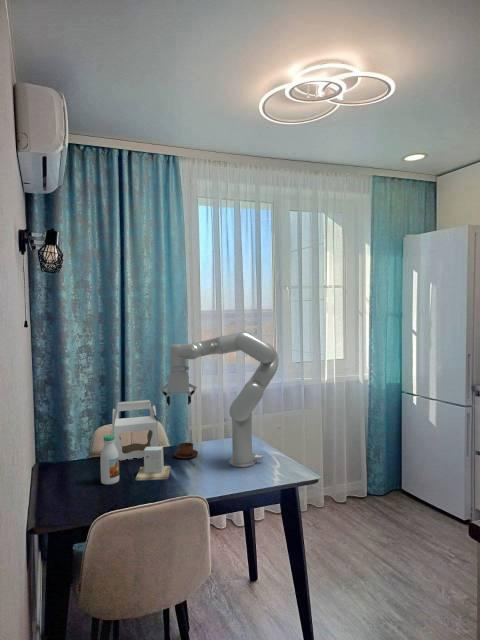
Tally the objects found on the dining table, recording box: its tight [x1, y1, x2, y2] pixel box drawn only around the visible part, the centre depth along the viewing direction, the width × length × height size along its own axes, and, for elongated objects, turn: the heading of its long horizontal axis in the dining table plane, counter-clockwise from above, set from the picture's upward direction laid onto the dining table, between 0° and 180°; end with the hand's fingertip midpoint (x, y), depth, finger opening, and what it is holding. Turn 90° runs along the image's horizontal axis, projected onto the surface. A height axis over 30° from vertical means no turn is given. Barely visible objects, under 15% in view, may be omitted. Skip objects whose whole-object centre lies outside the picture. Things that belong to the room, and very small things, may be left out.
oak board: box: [135, 465, 172, 481], centre depth 210 cm, size 14×14×1 cm
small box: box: [143, 445, 165, 473], centre depth 210 cm, size 8×6×10 cm
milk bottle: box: [100, 434, 120, 485], centre depth 202 cm, size 8×8×20 cm
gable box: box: [111, 399, 159, 461], centre depth 239 cm, size 22×13×28 cm, turn 108°
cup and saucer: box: [173, 442, 199, 459], centre depth 235 cm, size 12×12×6 cm
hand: (179, 404), depth 225 cm, fingers open, 9 cm apart
